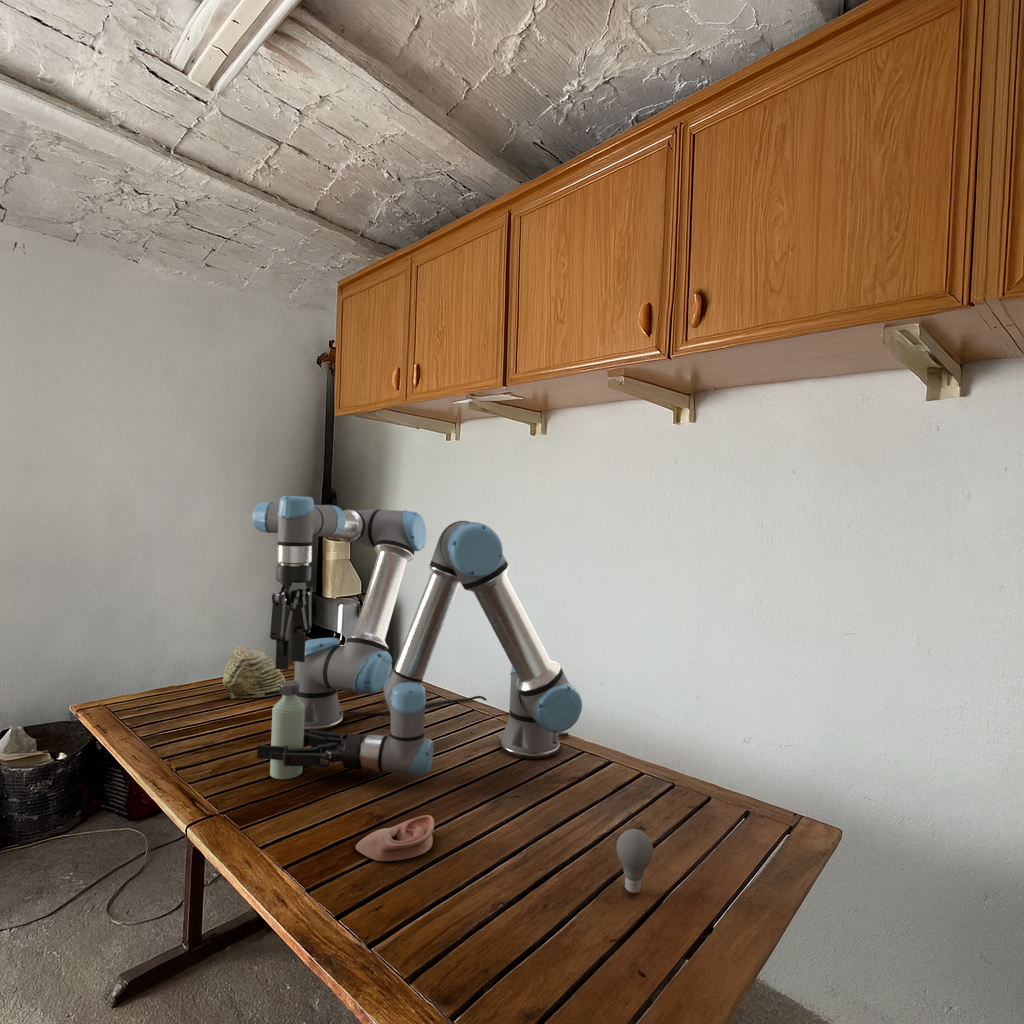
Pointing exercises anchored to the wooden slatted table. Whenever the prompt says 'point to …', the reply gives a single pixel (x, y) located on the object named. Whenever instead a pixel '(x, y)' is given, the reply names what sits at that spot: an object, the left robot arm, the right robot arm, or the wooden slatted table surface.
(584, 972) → the wooden slatted table surface
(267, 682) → the fossil
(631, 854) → the light bulb
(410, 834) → the anatomical model
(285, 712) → the bottle
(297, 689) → the cap
